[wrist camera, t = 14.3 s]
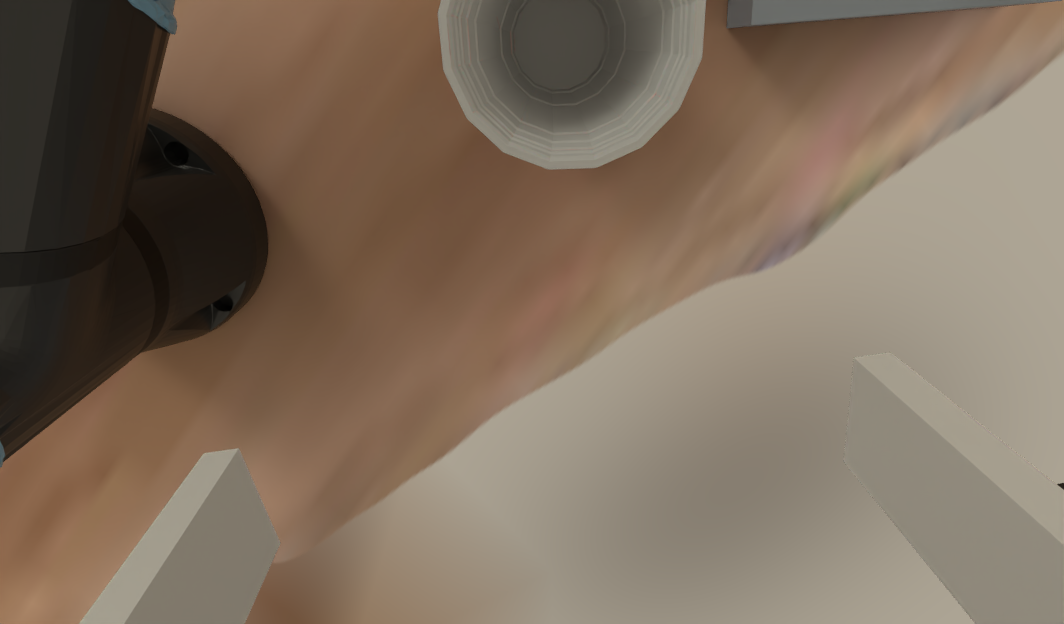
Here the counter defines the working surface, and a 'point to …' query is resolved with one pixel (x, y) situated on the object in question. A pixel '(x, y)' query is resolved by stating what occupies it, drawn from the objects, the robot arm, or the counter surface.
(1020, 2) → the parts tray
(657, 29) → the plastic cup
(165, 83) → the counter surface
